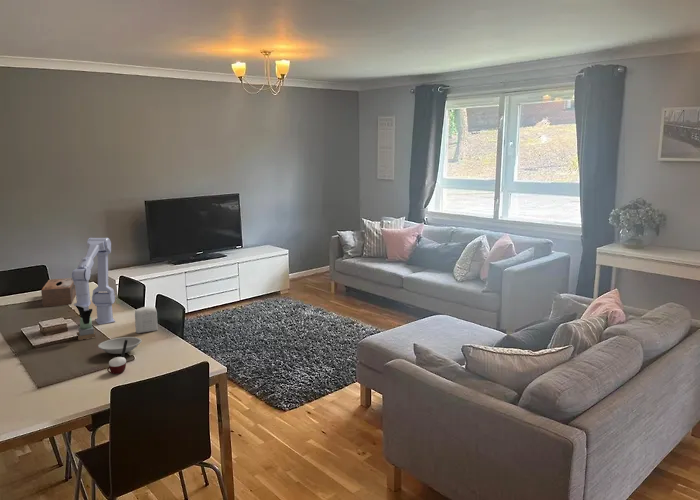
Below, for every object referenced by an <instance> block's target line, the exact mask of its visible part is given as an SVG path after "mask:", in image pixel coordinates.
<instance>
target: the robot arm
mask: <svg viewBox="0 0 700 500" xmlns="http://www.w3.org/2000/svg"><path fill="white" fill-rule="evenodd" d="M86 247H87V250H86V254H85V256H84V257H82V258H80V262H79V263H78V265H77V267H76V268H75V269H73V270H72V273H71V278H72V279H73V282H74V285H75V289H76V296H75V299H76V302H75V303H74V304H73V306H75V307H76V309H77V310H78V313H79V317H80V318H82V319H83V322H84V324H89V321H90V317H91V315H92V312H93V308H90V305H91V304H93V305H94V306H95V307H96V318H95V321H96V323H97V325H104V324H111V323H114V322H116V320H115V319H114V317H113V304H114V303H115V301H116V294H115V290H114V289H113V287H110V285H109V255H110V254H111V253H112V241H111V239H110V238H109V237H88V239H87V241H86ZM96 256H97V287H95V288H94V289H93V290H92V295H91V294H90V284H89V283H90V282H89V280H90V279H91V273H92V272H91V270H92V268H93V266H94V264H95V262H94V258H95V257H96Z"/></svg>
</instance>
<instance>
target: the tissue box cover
mask: <svg viewBox="0 0 700 500" xmlns="http://www.w3.org/2000/svg"><path fill="white" fill-rule="evenodd" d="M40 290H41V301H42V302H41V303H42V307H43V308H44V307H45V308H46V307H57V306H66V305H67V306H69V305H72V304H73V302H74V300H75V299H76V289H75V285H74V282H73V279H72V277H67V278H53V279H48V280H47V282H46V283H45V284H44V285H43V287H42V289H40Z"/></svg>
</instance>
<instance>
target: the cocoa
mask: <svg viewBox="0 0 700 500" xmlns="http://www.w3.org/2000/svg"><path fill="white" fill-rule="evenodd" d="M127 342H128V340H125V342H124V346H123V350H122V354H120V355H121V356H117V357H116V356H115V357H113V358H112V359H110V360H109V361H108V367H107V368H106V371H107V372H108V373H109V374H114V375H118V374H122V373H123V372H124V371H125V370H126V366H127V359H126V358H125V351H126V346H127Z"/></svg>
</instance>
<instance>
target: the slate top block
mask: <svg viewBox="0 0 700 500" xmlns="http://www.w3.org/2000/svg"><path fill="white" fill-rule="evenodd" d="M78 332H79V334H80V336H83V335H90V334H94V333H95V328H94V326H93V325H92V328H90V329H81V328H80V326H78Z"/></svg>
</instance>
